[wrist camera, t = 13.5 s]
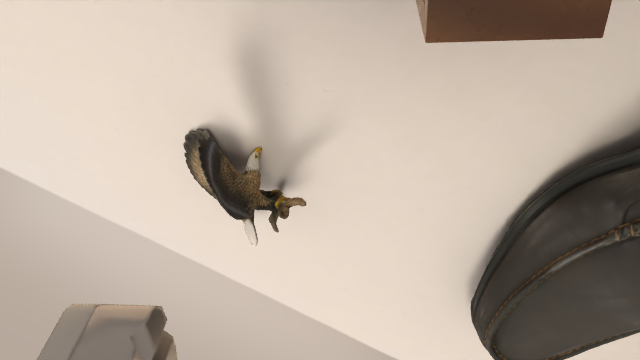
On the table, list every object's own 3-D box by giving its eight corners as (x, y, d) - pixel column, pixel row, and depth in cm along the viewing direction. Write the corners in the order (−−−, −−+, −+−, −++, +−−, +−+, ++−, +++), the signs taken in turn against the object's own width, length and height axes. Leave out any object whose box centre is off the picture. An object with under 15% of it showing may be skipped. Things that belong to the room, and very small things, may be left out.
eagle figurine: (319, 154, 42) (210, 106, 39) (298, 245, 40) (179, 202, 36) (275, 174, 49) (178, 134, 45) (254, 252, 46) (149, 218, 43)
